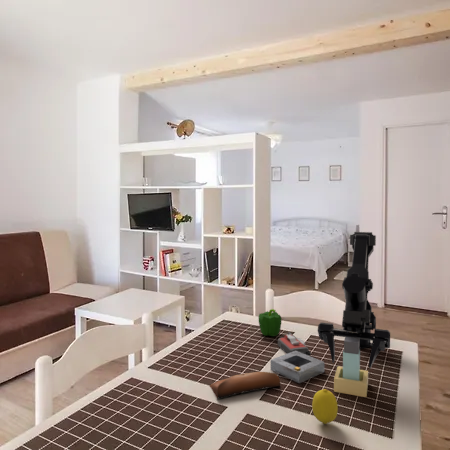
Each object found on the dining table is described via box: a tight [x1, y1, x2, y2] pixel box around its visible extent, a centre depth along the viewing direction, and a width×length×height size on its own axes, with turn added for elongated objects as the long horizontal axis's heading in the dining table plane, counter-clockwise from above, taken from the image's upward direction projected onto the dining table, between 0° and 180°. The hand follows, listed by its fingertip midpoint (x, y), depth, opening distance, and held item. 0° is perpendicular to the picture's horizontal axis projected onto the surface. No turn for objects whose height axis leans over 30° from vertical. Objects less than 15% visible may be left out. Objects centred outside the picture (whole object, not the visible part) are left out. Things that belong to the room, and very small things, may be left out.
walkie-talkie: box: [277, 331, 312, 356], centre depth 132 cm, size 9×4×20 cm
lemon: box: [311, 388, 339, 425], centre depth 86 cm, size 6×6×8 cm
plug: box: [342, 337, 361, 381], centre depth 103 cm, size 4×4×13 cm
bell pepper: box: [258, 308, 282, 337], centre depth 144 cm, size 8×8×10 cm
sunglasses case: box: [209, 371, 281, 400], centre depth 104 cm, size 18×7×7 cm
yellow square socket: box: [333, 365, 369, 398], centre depth 103 cm, size 8×8×4 cm
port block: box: [270, 351, 325, 384], centre depth 113 cm, size 11×11×3 cm
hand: (351, 364), depth 101 cm, fingers open, 9 cm apart
